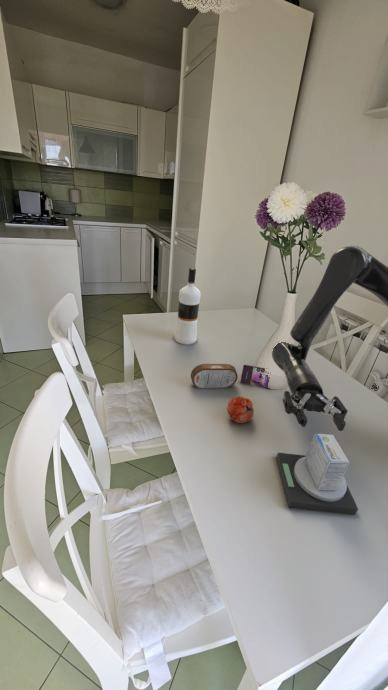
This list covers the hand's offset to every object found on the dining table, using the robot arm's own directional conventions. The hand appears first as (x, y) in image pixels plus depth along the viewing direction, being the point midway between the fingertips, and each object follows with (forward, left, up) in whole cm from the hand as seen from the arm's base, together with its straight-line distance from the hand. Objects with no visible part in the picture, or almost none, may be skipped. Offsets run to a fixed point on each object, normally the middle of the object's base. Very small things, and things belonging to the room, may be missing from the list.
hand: (323, 426), depth 68 cm
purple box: (+9, -33, -13) cm, 36 cm away
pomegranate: (+16, -14, -13) cm, 25 cm away
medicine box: (0, +6, -9) cm, 11 cm away
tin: (+23, -28, -13) cm, 38 cm away
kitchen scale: (+1, +6, -12) cm, 14 cm away
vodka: (+34, -59, -13) cm, 69 cm away
